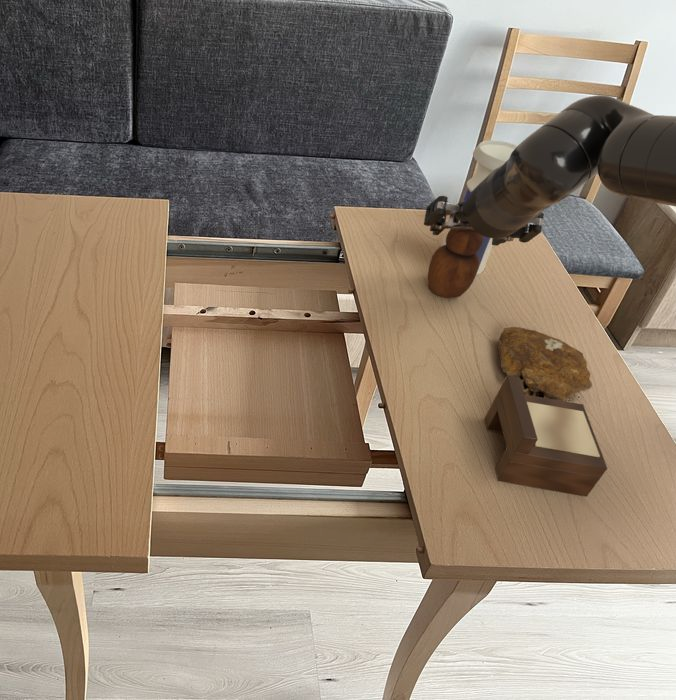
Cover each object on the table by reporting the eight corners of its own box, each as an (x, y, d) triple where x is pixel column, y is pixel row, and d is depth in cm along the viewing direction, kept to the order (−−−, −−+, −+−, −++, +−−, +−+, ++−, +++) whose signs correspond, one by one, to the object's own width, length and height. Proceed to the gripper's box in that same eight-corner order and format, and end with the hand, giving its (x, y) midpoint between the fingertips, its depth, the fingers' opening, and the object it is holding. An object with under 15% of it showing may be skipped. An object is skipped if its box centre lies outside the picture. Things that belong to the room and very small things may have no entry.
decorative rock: (597, 426, 88) (562, 353, 99) (614, 403, 85) (576, 330, 97) (509, 409, 87) (485, 337, 99) (523, 385, 85) (497, 315, 97)
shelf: (565, 432, 86) (592, 389, 81) (586, 497, 78) (619, 453, 73) (484, 418, 86) (506, 374, 81) (497, 481, 78) (524, 437, 74)
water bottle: (476, 248, 118) (536, 103, 101) (493, 277, 111) (560, 128, 95) (429, 245, 117) (482, 99, 101) (444, 274, 110) (503, 123, 94)
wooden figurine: (464, 285, 108) (500, 200, 99) (467, 307, 104) (504, 219, 94) (421, 277, 109) (452, 191, 99) (422, 298, 105) (454, 210, 95)
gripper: (443, 219, 84) (411, 250, 100) (562, 239, 83) (511, 267, 99) (453, 160, 85) (420, 200, 101) (572, 179, 84) (519, 217, 100)
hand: (465, 233), depth 100 cm, fingers open, 8 cm apart
